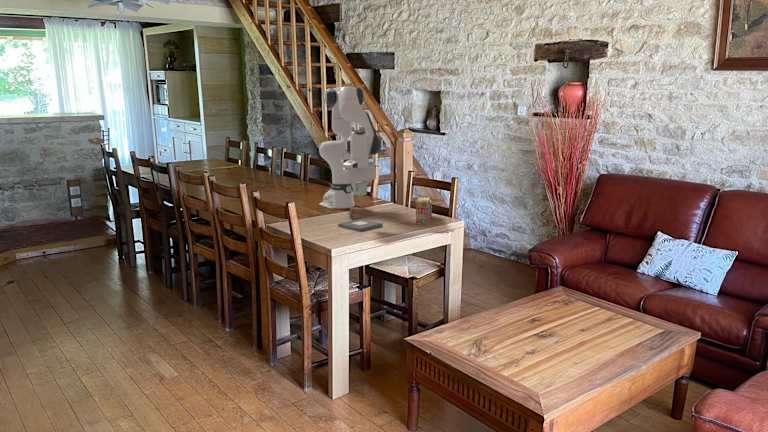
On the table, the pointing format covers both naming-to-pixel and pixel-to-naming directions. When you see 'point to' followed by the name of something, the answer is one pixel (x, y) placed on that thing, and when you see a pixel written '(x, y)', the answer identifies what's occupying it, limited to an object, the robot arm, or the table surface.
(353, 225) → the baseplate
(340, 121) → the robot arm
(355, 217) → the walnut block
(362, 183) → the green block
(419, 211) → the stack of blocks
